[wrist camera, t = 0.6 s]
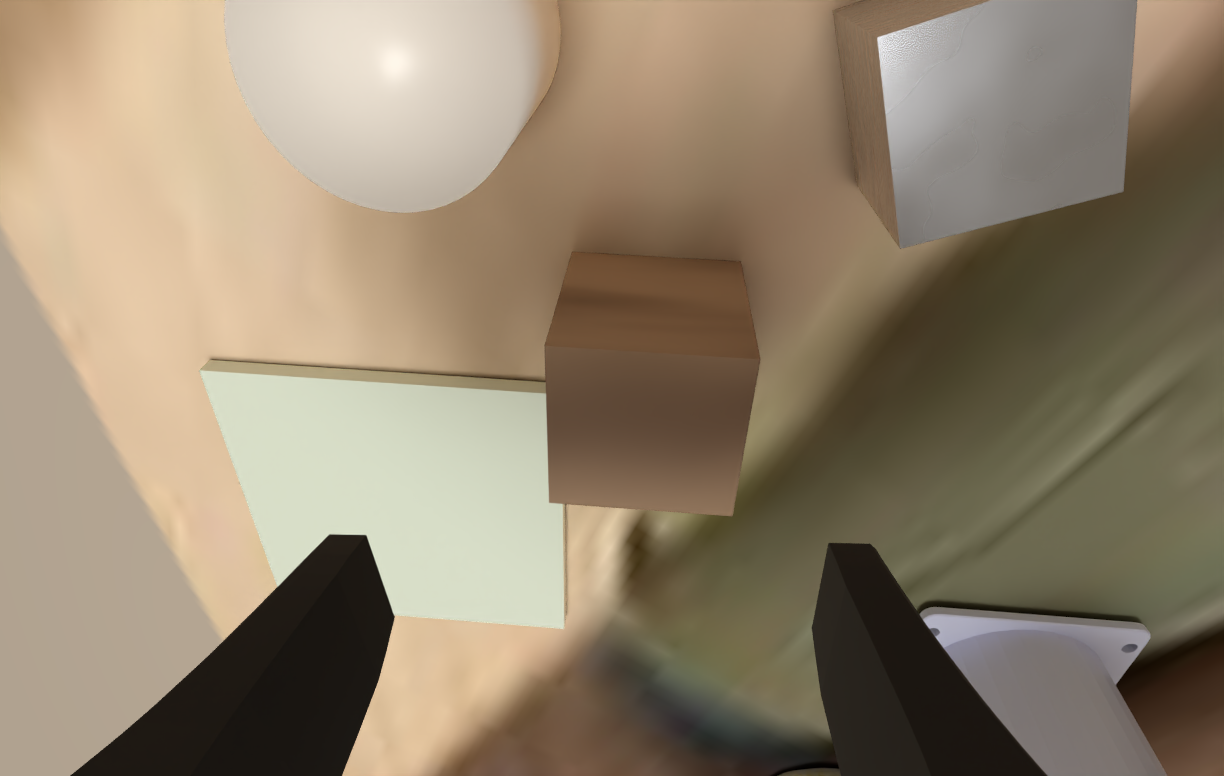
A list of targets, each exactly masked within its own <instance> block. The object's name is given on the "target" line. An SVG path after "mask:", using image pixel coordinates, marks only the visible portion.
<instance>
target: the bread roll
mask: <svg viewBox="0 0 1224 776" xmlns="http://www.w3.org/2000/svg"><path fill="white" fill-rule="evenodd" d="M778 776H841V773H840V769H837V768H811V769H802V770H794V771H790V772H785V773H783V774H780V775H778Z"/></svg>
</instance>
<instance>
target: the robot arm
mask: <svg viewBox="0 0 1224 776" xmlns="http://www.w3.org/2000/svg"><path fill="white" fill-rule="evenodd" d="M394 618H395V616H394V614H393V611H392V608H391V605H390V602H389V599H388V596H387V593H386V590H385V588H384V585H383V582H382V579H381V576H380V573H379V570H378V567H377V564H376V561H375V559H374V556H373V553H372V550H371V547H370V544H369V541H368V538H367V535H341V534H329V535H328V536H327V537H326V538H325V539H324V540H323V541H322V542H321V543H320V544H319V545H318V546H317V547H316V548H315V549H314V550H313V551H312V552H311V553H310V554H309V555H308V556H307V557H306V558H305V559H304V560H303V561H302V562H301V563H300V564H299V565H298V566H297V567H296V568H295V569H294V570H293V572H292V573H291V574H290V575H289V576H288V577H287V578H286V579H285V580H284V581H283V582H282V583H281V584H280V585H279V586H278V587H277V588H276V589H275V590H274V591H273V592H272V593H271V594H270V595H269V596H268V597H267V598H266V599H265V600H264V601H263V602H262V603H261V604H260V605H259V606H258V607H257V608H256V609H255V610H254V611H253V612H252V613H251V614H250V615H249V616H248V617H247V618H246V619H245V620H244V621H243V622H242V623H241V624H240V625H239V626H238V627H237V628H236V629H235V630H234V631H233V632H232V633H231V634H230V635H229V636H228V637H227V638H226V639H225V640H224V641H223V642H222V643H221V644H220V645H219V646H218V647H217V648H216V649H215V650H214V651H213V652H212V653H211V654H210V655H209V656H208V657H207V658H205V659H204V660H203V661H202V662H201V663H200V664H199V665H198V666H197V667H196V668H195V669H194V670H193V671H191V673H189V674H188V675H187V676H186V677H185V678H184V679H183V680H182V681H181V682H180V683H179V684H177V685H176V686H175V687H174V688H173V689H172V690H171V691H170V692H169V693H168V694H167V695H166V696H165V697H163V698H162V699H161V700H160V701H159V702H158V703H157V704H156V705H154V706H153V707H152V708H151V709H150V710H149V711H148V712H147V713H145V714H144V715H143V716H142V717H141V718H140V719H139V720H137V721H136V722H135V723H134V724H133V725H132V726H131V727H129V728H128V729H127V730H126V731H125V732H123V733H122V734H121V735H120V736H119V737H118V738H116V739H115V740H114V741H113V742H111V743H110V744H109V745H108V746H106V747H105V748H104V749H103V750H101V751H100V752H99V753H98V754H97V755H95V756H94V757H93V758H92V759H90V760H89V761H88V762H87V763H86V764H84V765H83V766H82V767H81V768H79V769H78V770H77V771H76V772H74V773H73V774H72V775H71V776H342V774H343V771H344V769H345V766H346V764H347V761H348V759H349V756H350V753H351V751H352V748H353V746H354V743H355V741H356V738H357V736H358V733H359V730H360V728H361V725H362V723H363V720H364V717H365V715H366V712H367V709H368V707H369V704H370V702H371V699H372V696H373V694H374V691H375V688H376V686H377V683H378V680H379V677H380V673H381V669H382V666H383V662H384V658H385V654H386V651H387V647H388V642H389V638H390V634H391V630H392V626H393V622H394ZM812 632H813V640H814V648H815V655H816V663H817V670H818V677H819V684H820V691H821V696H822V701H823V705H824V709H825V713H826V717H827V721H828V725H829V729H830V733H831V737H832V741H833V745H834V749H835V753H836V757H837V761H838V765H839V769H840V773H841V776H1167V774H1166V772H1165V770H1164V769H1163V767H1162V765H1161V763H1160V762H1159V760H1158V758H1157V756H1156V755H1155V753H1154V751H1153V750H1152V748H1151V746H1150V744H1149V743H1148V741H1147V739H1146V737H1145V736H1144V734H1143V732H1142V730H1141V729H1140V727H1139V725H1138V723H1137V722H1136V720H1135V718H1134V716H1133V715H1132V713H1131V711H1130V709H1129V708H1128V706H1127V704H1126V702H1125V701H1124V699H1123V697H1122V695H1121V694H1120V692H1119V690H1118V689H1117V687H1116V684H1117V682H1118V681H1119V680H1120V678H1121V677H1122V676H1123V674H1124V673H1125V672H1126V670H1127V669H1128V668H1129V666H1130V665H1131V664H1132V663H1133V661H1134V660H1135V659H1136V657H1137V656H1138V655H1139V653H1140V652H1141V651H1142V649H1143V648H1144V647H1145V645H1146V644H1147V643H1148V641H1149V640H1150V637H1151V635H1150V632H1149V631H1148V629H1147V628H1146V626H1145V625H1143V624H1141V623H1136V622H1125V621H1112V620H1099V619H1087V618H1074V617H1061V616H1048V615H1035V614H1022V613H1009V612H996V611H984V610H971V609H958V608H945V607H930V608H926V609H925V610H923V611H922V612H921V613H920V615H919V613H918V612H917V610H916V609H915V608H914V606H913V605H912V603H911V602H910V600H909V599H908V597H907V596H906V595H905V593H904V592H903V590H902V589H901V587H900V586H899V584H898V583H897V581H896V580H895V578H894V577H893V575H892V574H891V572H890V571H889V569H888V567H887V566H886V564H885V563H884V561H883V560H882V558H881V557H880V555H879V553H878V552H877V550H876V549H875V548H874V547H873V546H872V545H871V544H853V543H829V544H828V549H827V554H826V559H825V564H824V569H823V574H822V579H821V584H820V590H819V595H818V600H817V605H816V610H815V615H814V620H813V625H812Z"/></svg>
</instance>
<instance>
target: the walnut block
mask: <svg viewBox="0 0 1224 776" xmlns="http://www.w3.org/2000/svg"><path fill="white" fill-rule="evenodd" d="M759 364H760V355H759V350H758V345H757V340H756V335H755V330H754V325H753V320H752V315H751V310H750V305H749V300H748V295H747V290H746V285H745V280H744V275H743V270H742V265H741V262H740V261H723V260H705V259H688V258H671V257H654V256H636V255H619V254H602V253H585V252H572V254H571V258H570V261H569V265H568V268H567V271H566V275H565V278H564V282H563V285H562V288H561V292H560V295H559V299H558V302H557V306H556V309H555V312H554V316H553V319H552V323H551V326H550V329H549V333H548V336H547V340H546V343H545V376H546V413H547V449H548V486H549V503H557V504H571V505H585V506H599V507H613V508H627V509H640V510H654V511H668V512H682V513H696V514H710V515H723V516H733V510H734V504H735V499H736V493H737V488H738V482H739V476H740V471H741V465H742V460H743V454H744V448H745V443H746V437H747V431H748V426H749V420H750V415H751V409H752V403H753V398H754V392H755V386H756V381H757V375H758V370H759Z"/></svg>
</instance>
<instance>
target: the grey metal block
mask: <svg viewBox="0 0 1224 776" xmlns="http://www.w3.org/2000/svg"><path fill="white" fill-rule="evenodd" d="M1136 10H1137V0H863V1H860V2H857V3H854V4H851V5H848V6H845V7H842V8H839V9H836V10H833V15H834V22H835V29H836V37H837V44H838V51H839V58H840V66H841V73H842V80H843V88H844V95H845V102H846V109H847V117H848V124H849V131H850V139H851V146H852V153H853V160H854V168H855V175H856V182H857V186H858V188H859V189H860V191H861V192H862V194H863V195H864V197H865V198H866V199H867V201H868V202H869V204H870V205H871V207H872V208H873V210H874V211H875V213H876V214H877V216H878V217H879V219H880V220H881V221H882V223H883V224H884V226H885V227H886V229H887V230H888V232H889V233H890V235H891V236H892V238H893V239H894V241H895V242H896V243H897V245H898V246H899V248H900V249H901V248H905V247H909V246H913V245H917V244H921V243H925V242H929V241H933V240H936V239H940V238H944V237H948V236H952V235H956V234H960V233H964V232H968V231H972V230H976V229H979V228H983V227H987V226H991V225H995V224H999V223H1003V222H1007V221H1011V220H1015V219H1018V218H1022V217H1026V216H1030V215H1034V214H1038V213H1042V212H1046V211H1050V210H1054V209H1057V208H1061V207H1065V206H1069V205H1073V204H1077V203H1081V202H1085V201H1089V200H1093V199H1096V198H1100V197H1104V196H1108V195H1112V194H1116V193H1120V192H1123V190H1124V176H1125V162H1126V148H1127V135H1128V121H1129V107H1130V93H1131V79H1132V66H1133V52H1134V38H1135V24H1136Z"/></svg>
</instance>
